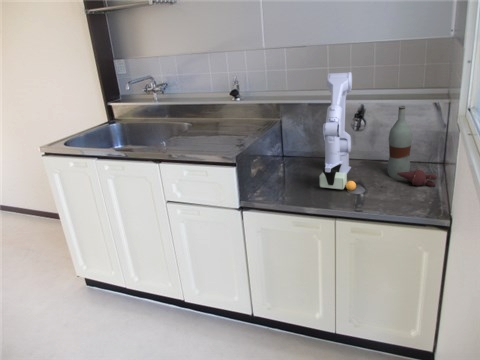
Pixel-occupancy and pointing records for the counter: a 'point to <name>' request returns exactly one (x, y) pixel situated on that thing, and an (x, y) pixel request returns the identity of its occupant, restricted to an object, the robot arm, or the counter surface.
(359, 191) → the spot
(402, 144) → the bottle
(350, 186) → the ball
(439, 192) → the counter surface
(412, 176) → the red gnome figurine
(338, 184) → the pale green block
